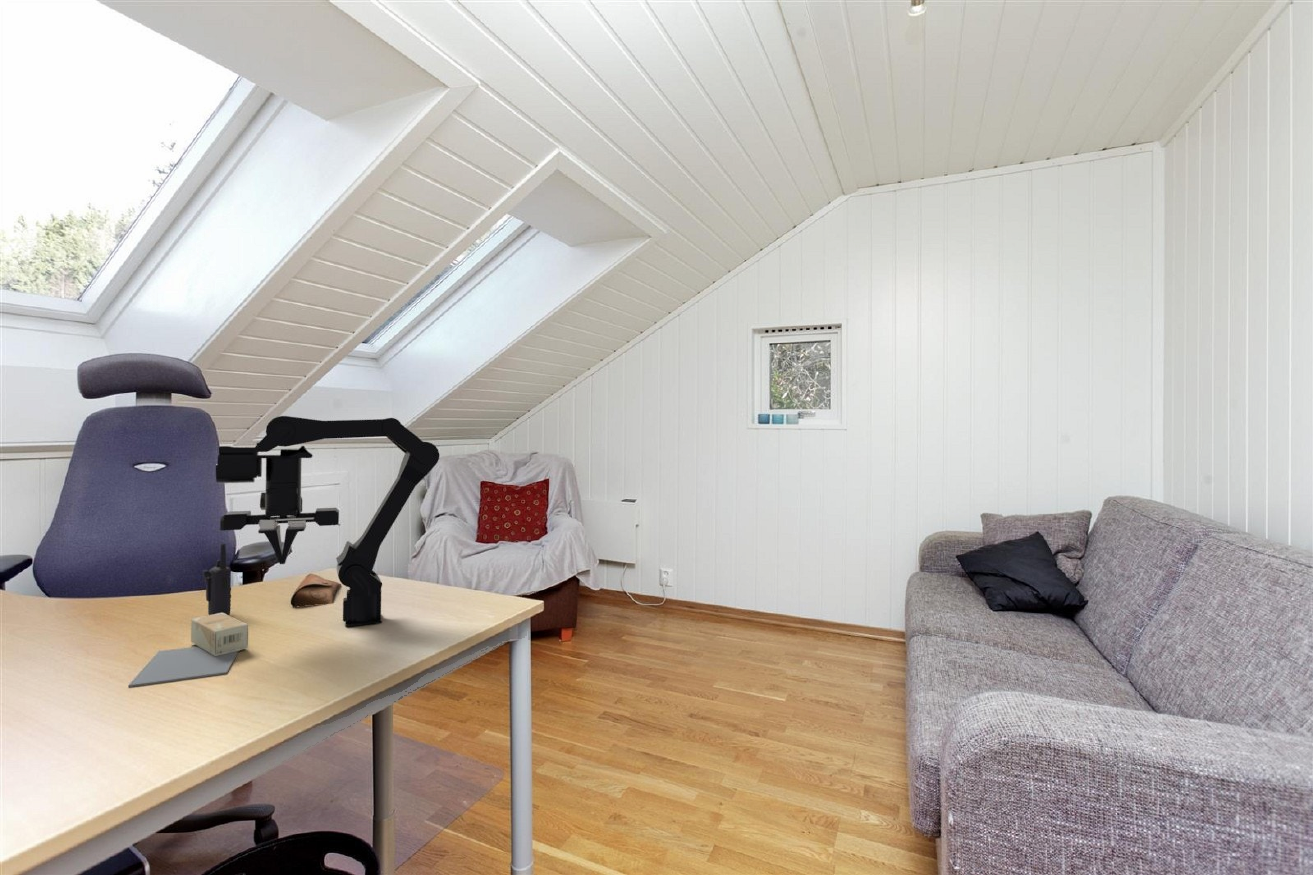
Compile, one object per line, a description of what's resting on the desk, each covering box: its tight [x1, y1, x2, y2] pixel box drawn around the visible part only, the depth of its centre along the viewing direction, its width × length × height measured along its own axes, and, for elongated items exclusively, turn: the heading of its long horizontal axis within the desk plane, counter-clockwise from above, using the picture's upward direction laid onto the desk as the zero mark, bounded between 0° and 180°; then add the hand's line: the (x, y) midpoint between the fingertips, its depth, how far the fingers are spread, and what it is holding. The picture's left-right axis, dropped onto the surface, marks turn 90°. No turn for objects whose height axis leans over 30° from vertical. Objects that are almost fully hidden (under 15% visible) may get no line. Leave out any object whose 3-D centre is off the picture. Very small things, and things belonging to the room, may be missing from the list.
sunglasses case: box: [290, 573, 342, 608], centre depth 137 cm, size 18×7×7 cm, turn 24°
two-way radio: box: [202, 543, 232, 616], centre depth 121 cm, size 6×4×15 cm
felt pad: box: [127, 646, 240, 688], centre depth 97 cm, size 12×15×1 cm
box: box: [190, 613, 249, 656], centre depth 104 cm, size 5×4×11 cm
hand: (282, 563), depth 112 cm, fingers closed
